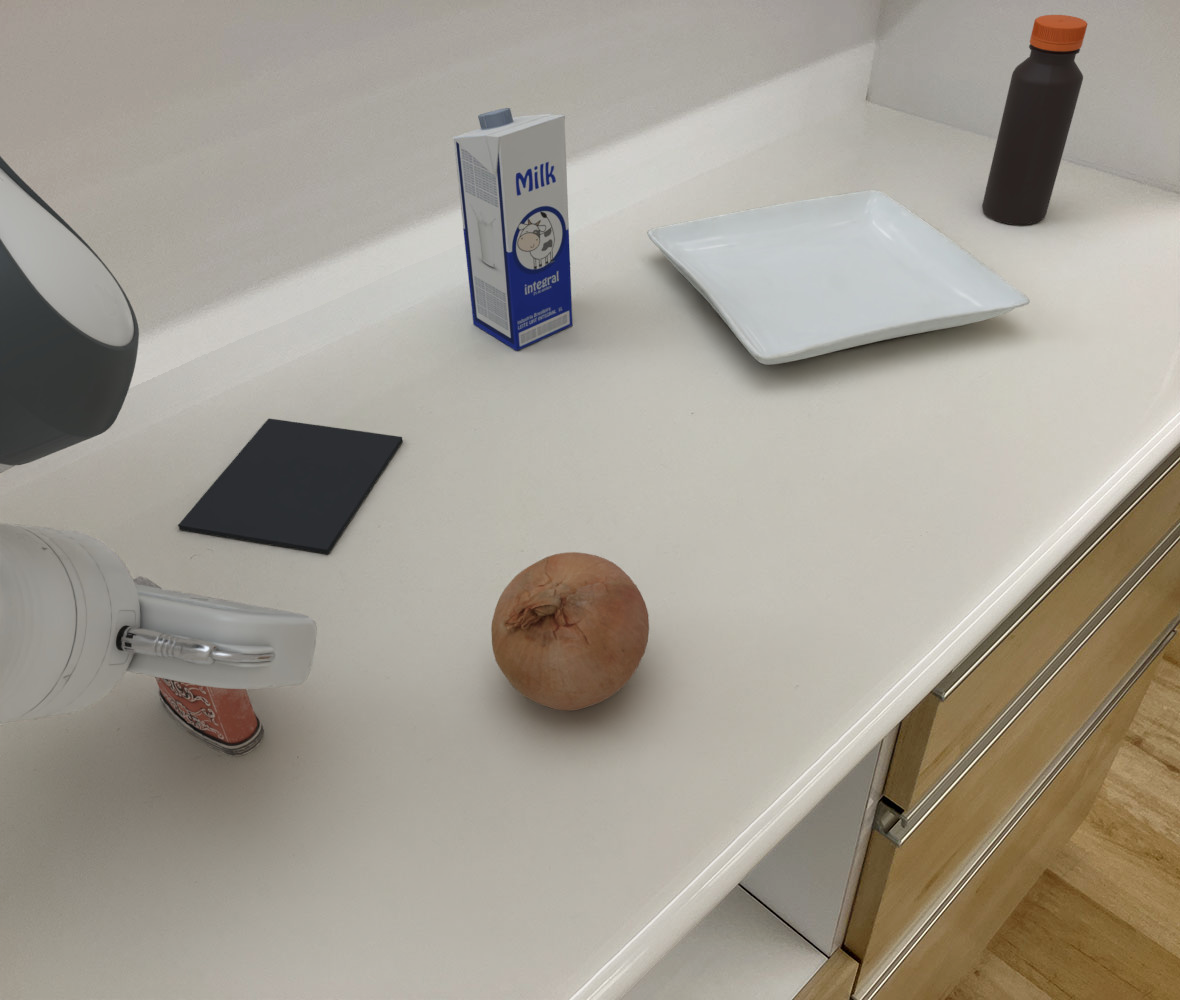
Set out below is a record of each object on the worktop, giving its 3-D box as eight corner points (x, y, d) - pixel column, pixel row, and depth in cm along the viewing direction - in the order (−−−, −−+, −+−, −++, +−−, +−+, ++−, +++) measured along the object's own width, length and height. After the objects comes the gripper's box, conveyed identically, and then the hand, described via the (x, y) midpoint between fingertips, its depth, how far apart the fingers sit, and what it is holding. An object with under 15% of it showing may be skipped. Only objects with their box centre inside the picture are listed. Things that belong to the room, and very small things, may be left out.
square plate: (872, 217, 116) (877, 183, 113) (1026, 336, 96) (1037, 298, 93) (643, 257, 110) (643, 222, 107) (756, 393, 89) (759, 354, 87)
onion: (553, 754, 65) (498, 711, 56) (500, 628, 69) (442, 570, 61) (689, 683, 64) (655, 628, 56) (627, 561, 69) (587, 494, 61)
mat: (179, 530, 77) (177, 525, 77) (269, 422, 88) (268, 418, 87) (328, 554, 75) (327, 549, 74) (403, 441, 85) (402, 436, 85)
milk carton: (515, 352, 95) (498, 134, 83) (471, 325, 99) (448, 113, 87) (574, 325, 99) (566, 112, 86) (529, 300, 103) (516, 92, 90)
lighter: (277, 729, 63) (239, 612, 56) (232, 767, 61) (186, 650, 54) (194, 669, 67) (149, 553, 60) (148, 703, 65) (97, 587, 58)
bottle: (993, 195, 119) (1037, 8, 107) (1053, 209, 116) (1106, 18, 104) (972, 216, 115) (1015, 24, 103) (1034, 231, 112) (1086, 35, 99)
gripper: (250, 590, 46) (371, 594, 60) (-134, 523, 50) (61, 540, 64) (224, 732, 46) (352, 704, 60) (-161, 653, 50) (41, 643, 64)
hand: (199, 619), depth 62 cm, fingers closed on lighter, 6 cm apart
